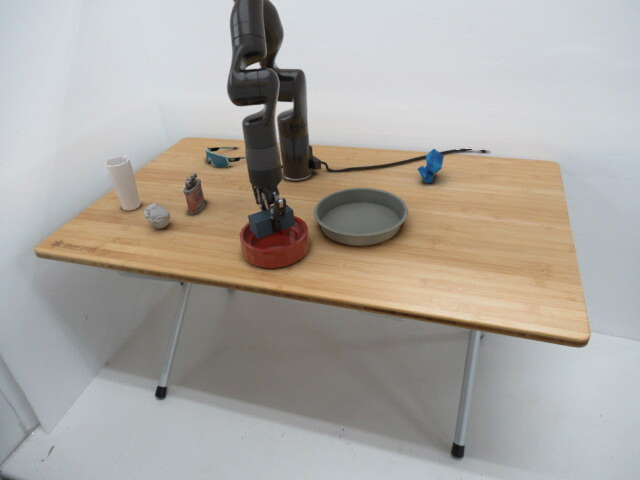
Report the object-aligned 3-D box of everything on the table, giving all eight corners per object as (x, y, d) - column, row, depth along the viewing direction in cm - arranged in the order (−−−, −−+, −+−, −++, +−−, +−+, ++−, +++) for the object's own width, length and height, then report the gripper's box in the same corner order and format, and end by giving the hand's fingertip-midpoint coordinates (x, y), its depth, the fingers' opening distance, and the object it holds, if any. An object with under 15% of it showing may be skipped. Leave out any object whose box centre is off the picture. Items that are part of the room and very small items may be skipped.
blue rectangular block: (286, 217, 117) (284, 202, 114) (295, 225, 114) (293, 209, 111) (250, 231, 113) (247, 215, 110) (258, 239, 110) (255, 223, 107)
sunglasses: (198, 159, 165) (197, 146, 163) (234, 152, 174) (233, 138, 172) (220, 171, 156) (219, 156, 154) (256, 162, 165) (256, 148, 163)
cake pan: (420, 242, 116) (421, 226, 113) (323, 256, 113) (322, 241, 111) (391, 195, 136) (392, 181, 133) (308, 207, 133) (307, 193, 131)
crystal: (417, 167, 135) (419, 142, 143) (416, 189, 141) (418, 164, 149) (443, 168, 134) (444, 143, 141) (441, 190, 140) (442, 165, 148)
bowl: (289, 224, 126) (287, 207, 123) (321, 253, 114) (320, 234, 111) (232, 245, 119) (229, 227, 116) (261, 278, 108) (257, 259, 104)
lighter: (197, 215, 133) (189, 184, 128) (186, 214, 134) (178, 183, 128) (208, 201, 140) (201, 171, 134) (197, 200, 140) (190, 170, 135)
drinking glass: (148, 203, 141) (134, 157, 133) (132, 214, 136) (116, 167, 128) (131, 199, 144) (116, 154, 135) (115, 210, 139) (98, 164, 130)
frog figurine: (158, 219, 133) (151, 198, 129) (178, 223, 130) (172, 201, 126) (143, 230, 128) (136, 208, 124) (164, 234, 126) (157, 212, 122)
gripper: (294, 168, 100) (300, 234, 109) (264, 147, 110) (273, 210, 120) (262, 178, 97) (272, 245, 106) (235, 156, 107) (246, 219, 117)
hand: (272, 226), depth 113 cm, fingers closed on blue rectangular block, 4 cm apart
